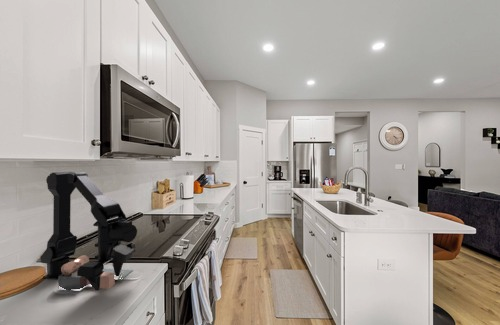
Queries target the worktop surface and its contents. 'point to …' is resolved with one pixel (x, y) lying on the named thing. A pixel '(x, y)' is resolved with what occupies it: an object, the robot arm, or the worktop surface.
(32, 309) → the worktop surface
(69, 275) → the dispenser
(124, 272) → the mat
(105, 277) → the salmon pink rectangular block
